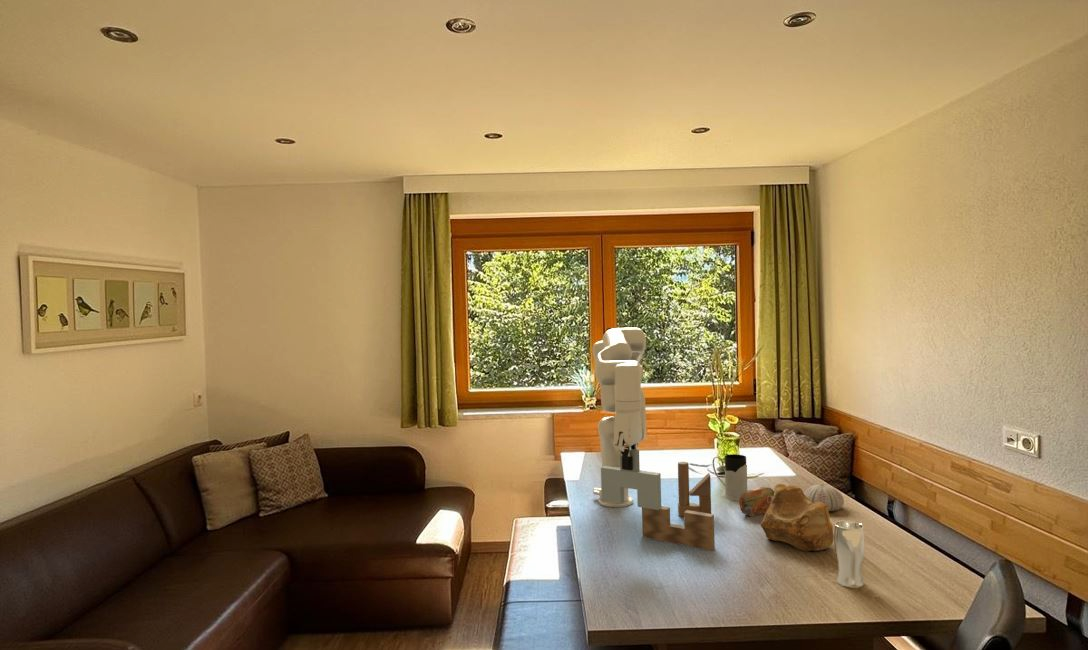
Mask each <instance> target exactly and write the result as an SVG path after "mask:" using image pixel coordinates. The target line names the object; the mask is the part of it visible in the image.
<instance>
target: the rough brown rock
mask: <svg viewBox="0 0 1088 650" xmlns="http://www.w3.org/2000/svg"><path fill="white" fill-rule="evenodd" d="M773 489H774V490H773V491H774V496H773V499H772V501H771V503H770V506H769V508H768V509H767V511H766V513H764V516H763V518H762V521H761V522H760V527H761V528H762V530H763V532H764V534H765V537H766V538H767V539H769V540H771V541H775V542H779V541H780V542H783V543H786V544H789V545H791V546H793V547H794V548H796V549H798V550H800V551H803V552H807V553H809V551H814V552H817V551H822V550H825V549H826V550H827V549H828V548H829V547H831V546H832V545H833V543H834V529H833V527H834V526H833V525H832V522H831V518H830V517H831V516H830V511H828V507H827V506H826V505H825V504H824V503H822V502H816V503H815V504H813V502H812V501H811V500H810V499H809V498H808V497H806V496H805V495H804V493H805V492H804V491H803V489H802V488H801V487H800V486H797V485H794V484H789V485H786V484H783V483H777V484H776V485H774V488H773Z"/></svg>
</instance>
